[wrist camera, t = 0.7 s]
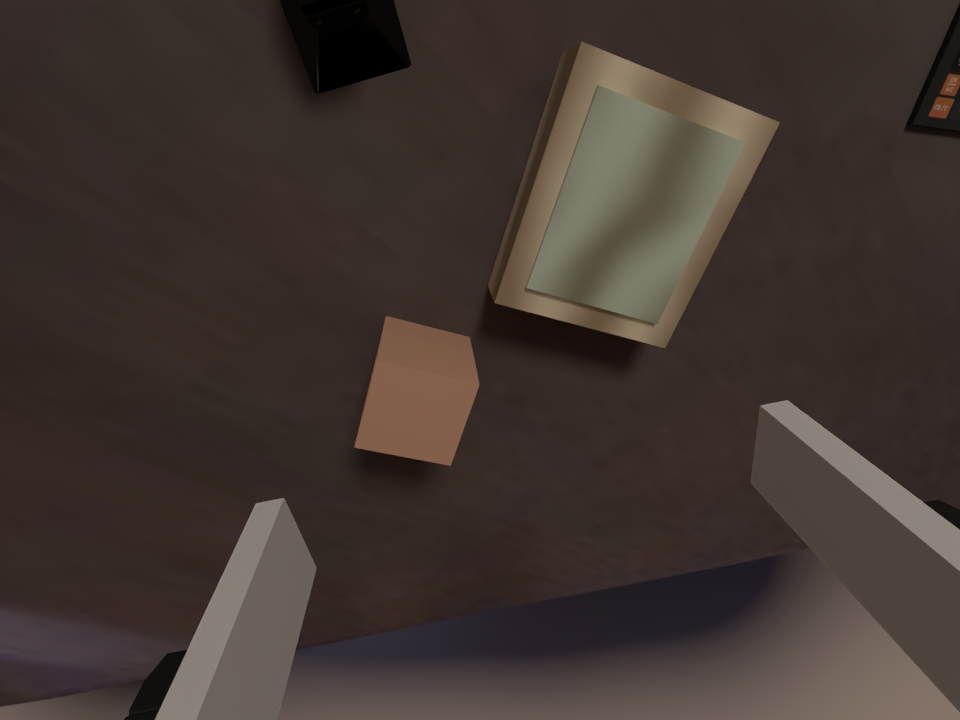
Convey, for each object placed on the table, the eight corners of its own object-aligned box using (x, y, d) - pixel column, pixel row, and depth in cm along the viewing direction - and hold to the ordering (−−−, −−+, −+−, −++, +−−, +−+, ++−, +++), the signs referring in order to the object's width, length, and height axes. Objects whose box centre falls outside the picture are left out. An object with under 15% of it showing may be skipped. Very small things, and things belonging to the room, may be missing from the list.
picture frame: (487, 283, 32) (495, 304, 28) (560, 53, 27) (583, 40, 23) (640, 325, 35) (667, 349, 31) (736, 123, 29) (783, 122, 25)
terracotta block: (367, 389, 34) (354, 447, 28) (385, 315, 32) (375, 360, 26) (446, 407, 36) (450, 465, 30) (469, 336, 33) (479, 384, 27)
